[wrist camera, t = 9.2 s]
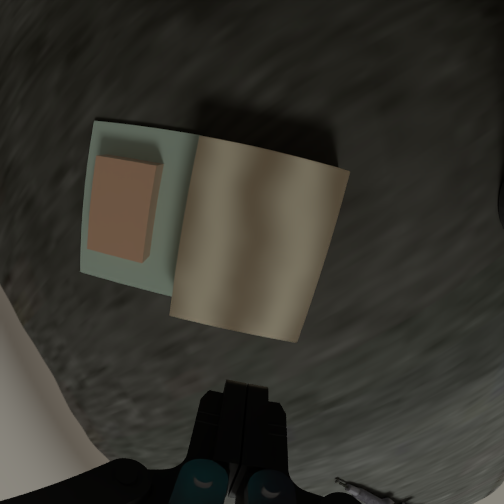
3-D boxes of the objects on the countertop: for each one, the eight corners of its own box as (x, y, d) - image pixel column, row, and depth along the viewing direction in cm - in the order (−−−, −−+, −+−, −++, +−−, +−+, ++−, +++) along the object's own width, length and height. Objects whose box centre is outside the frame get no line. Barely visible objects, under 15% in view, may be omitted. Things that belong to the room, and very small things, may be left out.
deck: (338, 167, 28) (350, 171, 24) (293, 320, 33) (296, 342, 29) (207, 136, 27) (199, 135, 24) (179, 296, 33) (169, 315, 29)
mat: (202, 135, 27) (201, 135, 27) (174, 295, 32) (173, 296, 32) (96, 120, 27) (94, 120, 26) (82, 270, 32) (80, 271, 32)
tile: (96, 155, 25) (106, 154, 28) (87, 248, 28) (96, 242, 30) (156, 165, 26) (164, 164, 28) (142, 263, 29) (149, 255, 31)
